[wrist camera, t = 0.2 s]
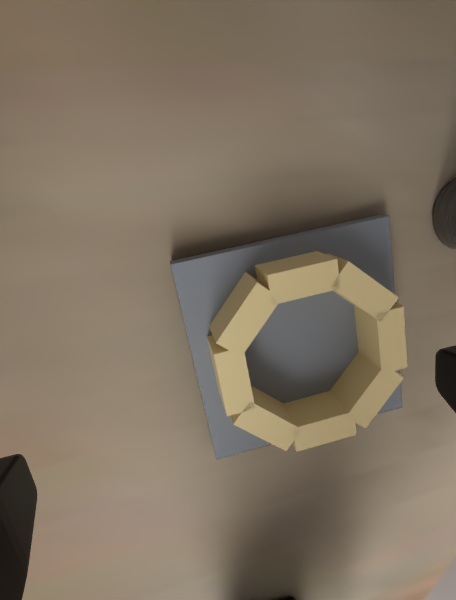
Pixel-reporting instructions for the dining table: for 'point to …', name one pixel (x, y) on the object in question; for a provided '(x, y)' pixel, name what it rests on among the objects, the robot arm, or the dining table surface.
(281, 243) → the nut plate
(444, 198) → the shiny metal cylinder
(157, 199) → the dining table surface
